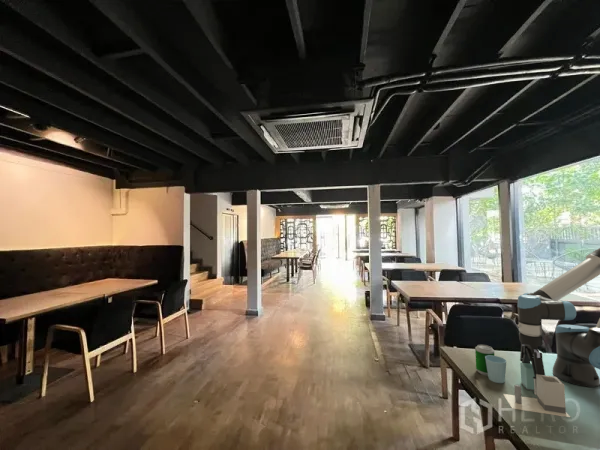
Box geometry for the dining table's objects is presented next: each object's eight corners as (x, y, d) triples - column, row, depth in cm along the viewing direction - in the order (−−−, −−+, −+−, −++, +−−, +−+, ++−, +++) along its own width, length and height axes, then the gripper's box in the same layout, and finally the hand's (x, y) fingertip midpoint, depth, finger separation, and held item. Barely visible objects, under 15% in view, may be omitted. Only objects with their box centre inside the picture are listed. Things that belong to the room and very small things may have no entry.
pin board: (556, 405, 108) (555, 385, 108) (571, 421, 99) (569, 399, 99) (503, 397, 114) (502, 378, 114) (512, 412, 104) (511, 391, 105)
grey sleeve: (557, 404, 106) (555, 376, 107) (565, 413, 101) (564, 384, 101) (537, 401, 108) (536, 374, 109) (544, 410, 103) (543, 382, 103)
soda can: (498, 377, 129) (497, 350, 130) (480, 376, 131) (479, 349, 131) (490, 369, 137) (489, 344, 137) (473, 368, 138) (472, 343, 139)
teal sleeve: (538, 388, 120) (537, 364, 120) (545, 396, 114) (544, 370, 114) (521, 386, 122) (520, 362, 122) (527, 393, 116) (526, 368, 116)
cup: (508, 389, 119) (507, 364, 120) (486, 385, 123) (485, 360, 124) (506, 381, 126) (505, 357, 126) (485, 377, 130) (484, 354, 130)
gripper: (509, 324, 131) (511, 373, 130) (531, 342, 109) (534, 401, 108) (529, 325, 128) (532, 376, 127) (555, 344, 107) (558, 405, 106)
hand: (532, 387), depth 118 cm, fingers open, 10 cm apart
